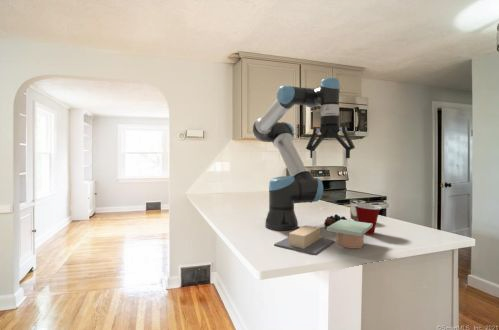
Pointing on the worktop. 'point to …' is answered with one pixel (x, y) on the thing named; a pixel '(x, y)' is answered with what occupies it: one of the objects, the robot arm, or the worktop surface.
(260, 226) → the worktop surface
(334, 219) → the pastry
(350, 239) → the bowl
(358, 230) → the sheet
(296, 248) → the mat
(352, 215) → the food container
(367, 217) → the plastic cup
